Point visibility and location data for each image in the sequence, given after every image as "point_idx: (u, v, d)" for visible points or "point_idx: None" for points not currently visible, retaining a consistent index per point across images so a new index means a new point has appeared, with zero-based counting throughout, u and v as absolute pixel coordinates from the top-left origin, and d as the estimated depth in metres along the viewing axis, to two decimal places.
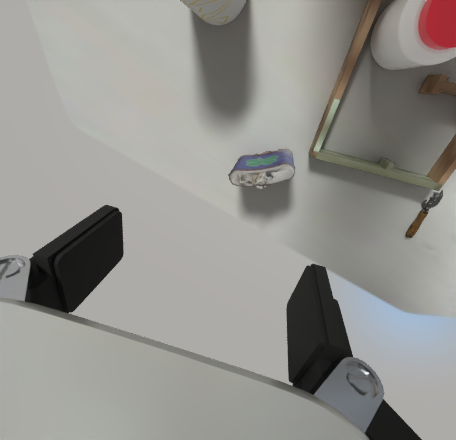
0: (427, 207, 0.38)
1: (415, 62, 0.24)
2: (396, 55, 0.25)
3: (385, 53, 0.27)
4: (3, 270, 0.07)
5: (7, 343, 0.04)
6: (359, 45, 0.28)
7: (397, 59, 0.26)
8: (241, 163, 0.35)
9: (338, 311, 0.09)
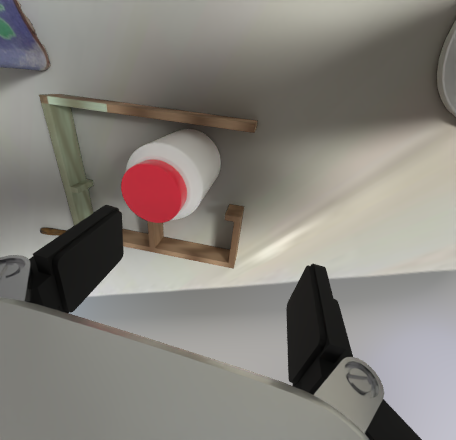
0: None
1: None
2: None
3: None
4: (3, 270, 0.07)
5: (6, 343, 0.04)
6: (158, 115, 0.24)
7: None
8: None
9: (338, 311, 0.09)
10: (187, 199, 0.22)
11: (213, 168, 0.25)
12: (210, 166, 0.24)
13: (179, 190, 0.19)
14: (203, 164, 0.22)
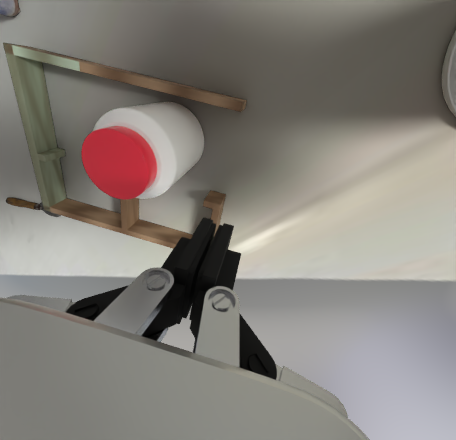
0: (41, 208, 0.36)
1: None
2: None
3: None
4: (153, 282, 0.08)
5: (7, 343, 0.04)
6: (137, 81, 0.22)
7: None
8: None
9: (237, 260, 0.11)
10: (157, 176, 0.19)
11: (193, 147, 0.23)
12: (189, 144, 0.22)
13: (146, 164, 0.17)
14: (179, 140, 0.20)
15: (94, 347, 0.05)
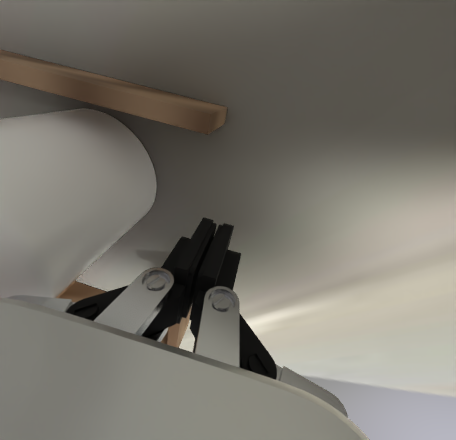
0: None
1: None
2: None
3: None
4: (153, 282, 0.08)
5: (7, 343, 0.04)
6: None
7: None
8: None
9: (237, 260, 0.11)
10: None
11: (119, 202, 0.12)
12: (102, 201, 0.10)
13: None
14: (61, 205, 0.09)
15: (94, 347, 0.05)
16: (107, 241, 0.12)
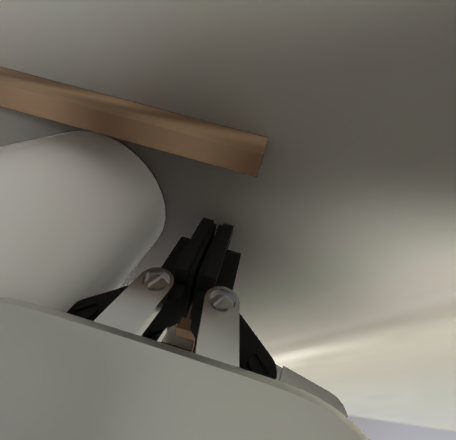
0: None
1: None
2: None
3: None
4: (153, 282, 0.08)
5: (7, 343, 0.04)
6: None
7: None
8: None
9: (237, 260, 0.11)
10: None
11: (127, 244, 0.10)
12: (107, 249, 0.09)
13: None
14: (60, 265, 0.07)
15: (94, 347, 0.05)
16: None
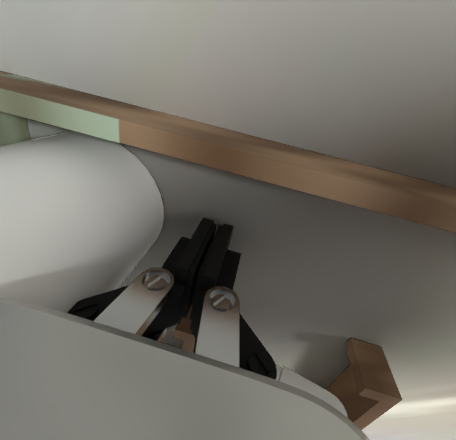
0: None
1: None
2: None
3: None
4: (153, 282, 0.08)
5: (7, 343, 0.04)
6: (281, 174, 0.08)
7: None
8: None
9: (236, 260, 0.11)
10: None
11: (125, 246, 0.10)
12: (106, 250, 0.09)
13: None
14: (57, 267, 0.07)
15: (94, 347, 0.05)
16: None
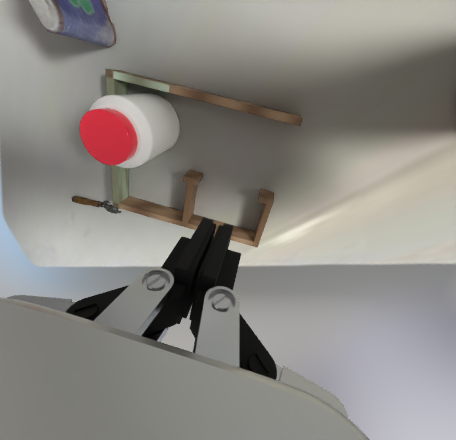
0: (103, 205, 0.42)
1: None
2: None
3: None
4: (153, 282, 0.08)
5: (7, 343, 0.04)
6: (216, 101, 0.27)
7: None
8: None
9: (237, 260, 0.11)
10: (138, 148, 0.25)
11: (168, 129, 0.29)
12: (164, 125, 0.28)
13: (128, 136, 0.23)
14: (155, 121, 0.26)
15: (94, 347, 0.05)
16: (163, 144, 0.29)
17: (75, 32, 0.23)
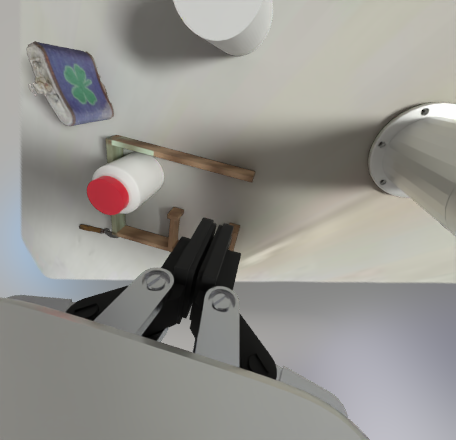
0: (105, 232, 0.51)
1: (92, 180, 0.35)
2: None
3: None
4: (153, 282, 0.08)
5: (7, 343, 0.04)
6: (189, 163, 0.36)
7: None
8: (67, 58, 0.30)
9: (237, 260, 0.11)
10: (129, 202, 0.34)
11: (154, 181, 0.38)
12: (150, 180, 0.37)
13: (122, 197, 0.32)
14: (143, 180, 0.35)
15: (94, 347, 0.05)
16: (150, 193, 0.38)
17: (83, 121, 0.32)
